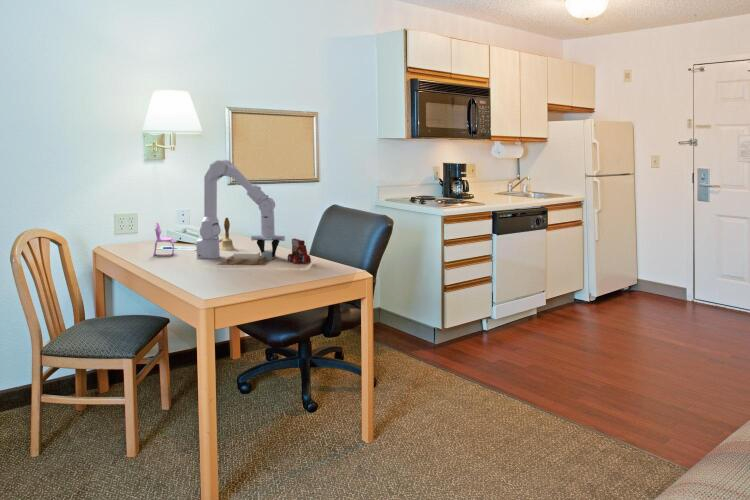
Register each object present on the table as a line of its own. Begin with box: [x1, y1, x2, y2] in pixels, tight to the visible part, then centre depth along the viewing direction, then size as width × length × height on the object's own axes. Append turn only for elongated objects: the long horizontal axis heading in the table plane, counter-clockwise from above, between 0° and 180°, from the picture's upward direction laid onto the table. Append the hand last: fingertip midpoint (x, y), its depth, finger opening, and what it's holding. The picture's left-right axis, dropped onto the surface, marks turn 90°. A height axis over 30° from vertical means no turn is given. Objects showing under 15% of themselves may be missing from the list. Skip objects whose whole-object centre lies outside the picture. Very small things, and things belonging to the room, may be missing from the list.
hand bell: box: [219, 217, 236, 252], centre depth 278 cm, size 8×8×16 cm
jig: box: [216, 254, 273, 266], centre depth 253 cm, size 20×22×3 cm
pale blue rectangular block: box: [260, 249, 275, 261], centre depth 257 cm, size 4×9×3 cm, turn 177°
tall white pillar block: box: [233, 251, 261, 259], centre depth 248 cm, size 10×4×4 cm, turn 87°
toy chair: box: [153, 221, 175, 257], centre depth 268 cm, size 8×9×15 cm
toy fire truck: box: [287, 238, 312, 265], centre depth 249 cm, size 7×12×10 cm, turn 32°
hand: (268, 256), depth 257 cm, fingers closed on pale blue rectangular block, 4 cm apart
